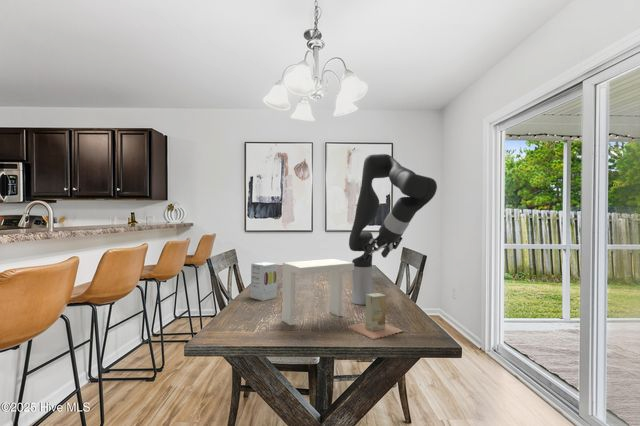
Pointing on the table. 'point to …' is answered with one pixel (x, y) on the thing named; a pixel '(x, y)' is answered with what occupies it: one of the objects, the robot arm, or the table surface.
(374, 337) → the terracotta tile
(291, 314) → the white stool
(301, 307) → the table surface
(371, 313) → the skincare box
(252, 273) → the supplement box
